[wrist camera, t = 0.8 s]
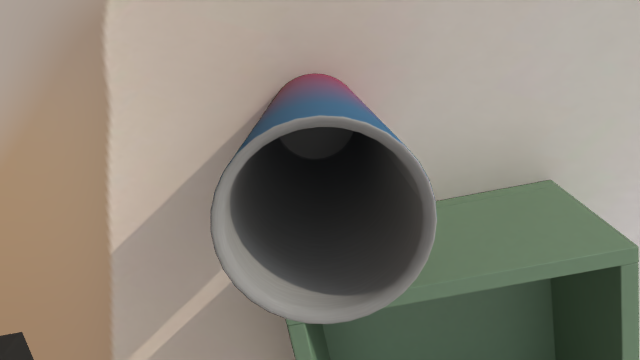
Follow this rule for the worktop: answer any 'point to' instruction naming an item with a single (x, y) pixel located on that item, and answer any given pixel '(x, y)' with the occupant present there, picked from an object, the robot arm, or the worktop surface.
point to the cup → (322, 208)
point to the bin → (503, 288)
